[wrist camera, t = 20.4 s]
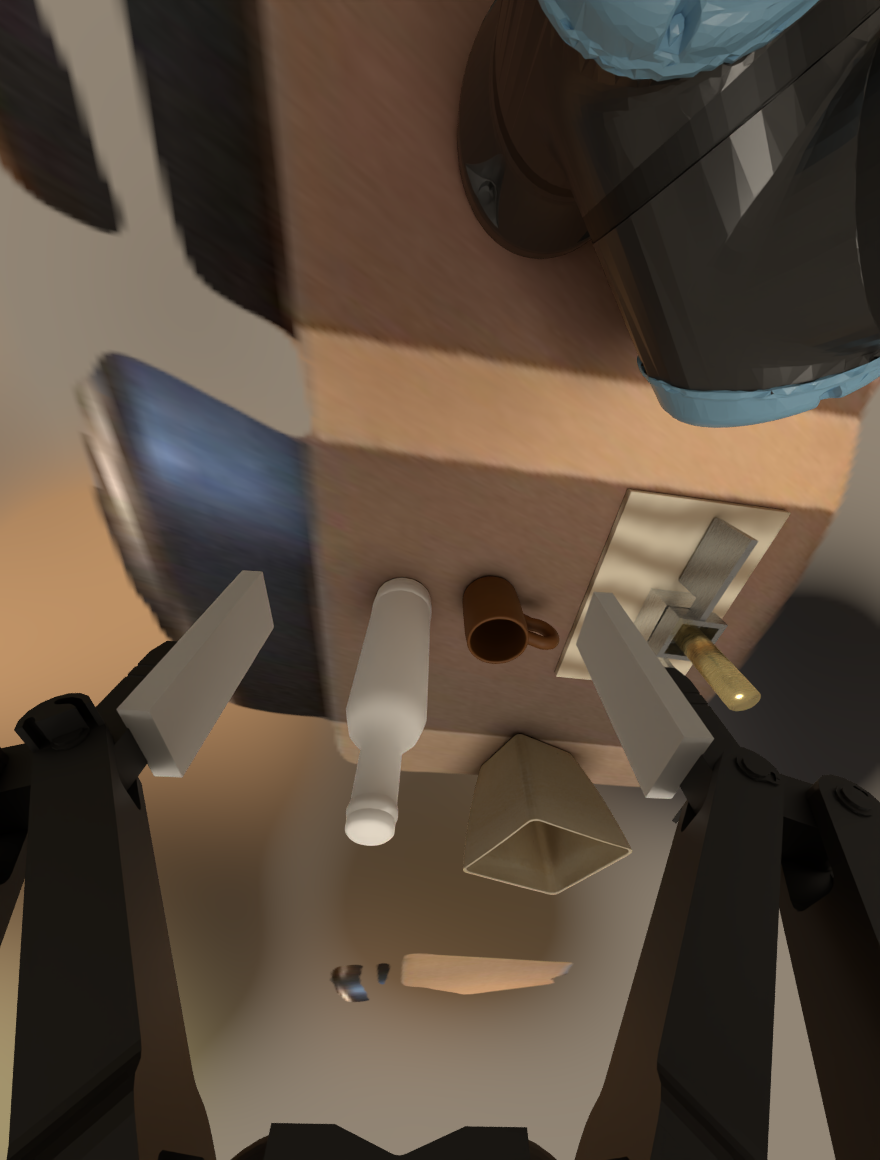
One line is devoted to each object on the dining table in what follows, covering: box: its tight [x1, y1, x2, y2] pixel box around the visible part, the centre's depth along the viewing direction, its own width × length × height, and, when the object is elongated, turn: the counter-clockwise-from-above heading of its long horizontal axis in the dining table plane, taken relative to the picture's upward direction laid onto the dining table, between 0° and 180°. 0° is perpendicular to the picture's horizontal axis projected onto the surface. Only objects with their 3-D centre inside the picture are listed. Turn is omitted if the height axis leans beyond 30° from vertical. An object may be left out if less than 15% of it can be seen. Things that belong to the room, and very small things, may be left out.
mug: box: [463, 576, 559, 664], centre depth 49 cm, size 12×8×9 cm, turn 80°
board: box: [555, 489, 790, 680], centre depth 52 cm, size 30×20×1 cm, turn 172°
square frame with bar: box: [648, 518, 758, 661], centre depth 47 cm, size 17×6×6 cm, turn 170°
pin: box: [673, 624, 761, 711], centre depth 46 cm, size 3×3×16 cm
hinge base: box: [634, 588, 713, 668], centre depth 50 cm, size 26×6×7 cm, turn 172°
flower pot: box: [463, 734, 632, 895], centre depth 65 cm, size 19×19×17 cm
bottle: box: [345, 578, 431, 846], centre depth 40 cm, size 8×8×30 cm
